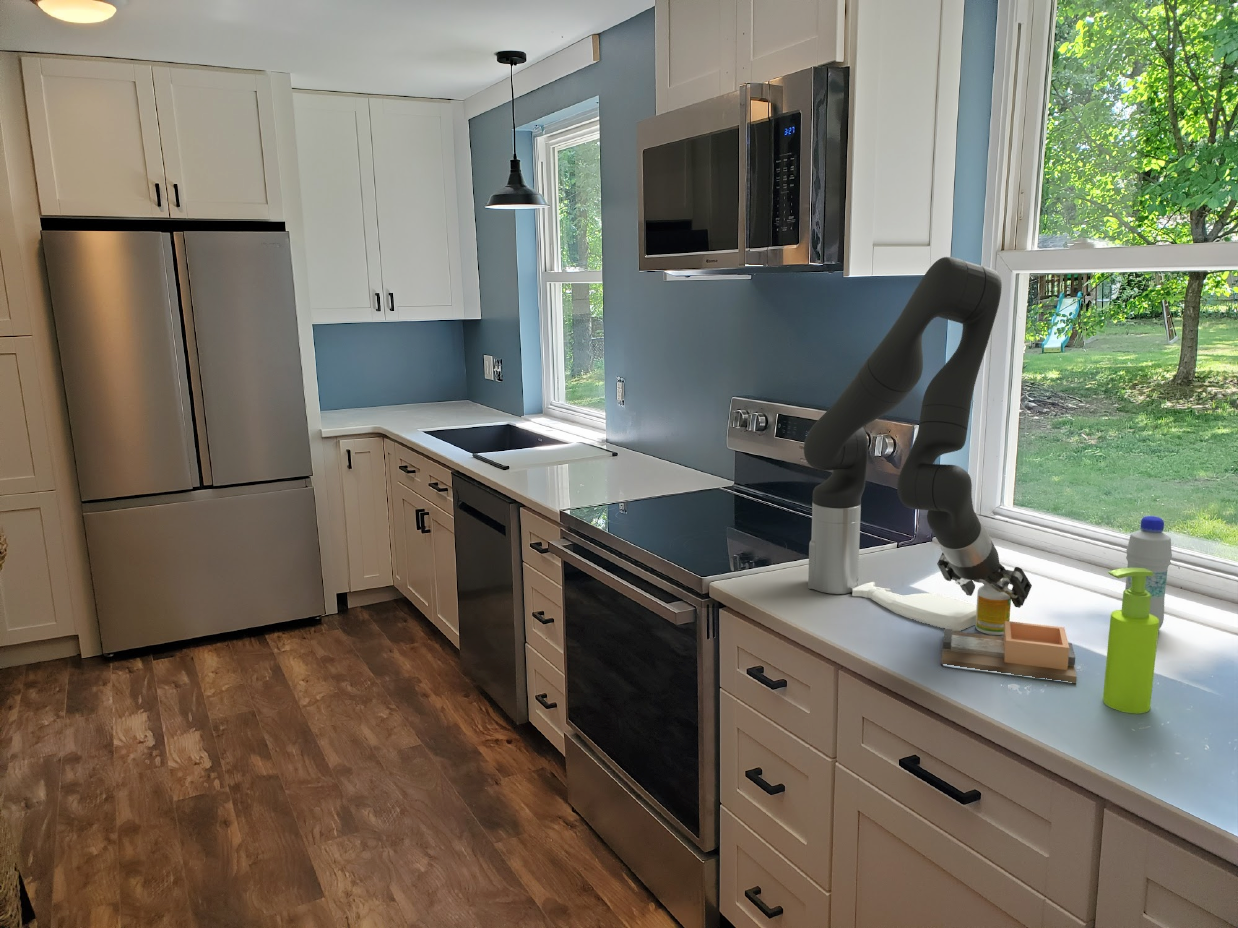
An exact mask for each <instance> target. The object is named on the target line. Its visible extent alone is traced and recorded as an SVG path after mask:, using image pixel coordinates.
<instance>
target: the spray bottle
mask: <svg viewBox="0 0 1238 928" xmlns="http://www.w3.org/2000/svg"><path fill="white" fill-rule="evenodd" d="M851 594H852V597H863V598H866V599H871V600H872V601H874V602H875V603H876V604H879V605H880V606H882V607H884V608H885V609H887V610H889V611H891V612H892V613H894V614H896V615H899V616H902V617H904V618H907V619H911V620H912V619H914V620H913V621H915V620H916V622H918V621H919V622H918V623H921V622H922V624H925V623H927V624H926V625H928V624H930V625H929V626H932V625H933V626H932V627H936V626H937V627H936V628H939V627H940V628H939V629H943V628H945V629H952V631H956V632H962V631H964V630H966V628H967V629H968V628H971V627H973V626H975V625H976V608H977V603H974V602H969V601H965V600H963V599H960V598H956V597H953V596H948V595H945V594H944V595H943V594H939V593H929V592H928V593H927V592H926V593H925V592H923V593H911V594H906V595H901V594H899V593H894V592H892V591H891V588H886V587H885V588H884V587H879V586H876V582H875V581H871V582H865V583H863V584H860V585H858V587H855V588H853V590H852V592H851ZM961 630H962V631H961Z"/></svg>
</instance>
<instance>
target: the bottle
mask: <svg viewBox="0 0 1238 928" xmlns="http://www.w3.org/2000/svg"><path fill="white" fill-rule="evenodd" d="M1164 528H1165V521H1164V519H1163V518H1160V517H1159V516H1154V515H1148V516H1147V515H1146V516H1143V518H1141V520H1140V529H1139V530H1135V531H1132V532H1131V533H1130V535H1129V540H1128V544H1127V547H1126V550H1125V551H1126V556H1125V559H1126V562H1127V567H1126V568H1145V569H1147V570H1149V571H1151V572H1153V576H1146V582H1145V590H1146V591H1147V592H1149V593H1150V594H1151V603H1150V613H1149V614H1151V615H1153V616H1155V617H1157V618H1158V619H1159V629H1158V631H1160V629H1161V627H1162V625H1163V624H1164V620H1165V618H1164V617H1165V597H1166V589H1167V588H1166V586H1167V579H1168V568H1169V567H1170V565H1171V560H1172V557H1173V554H1172V539H1171V536H1169V535H1168V534H1167V533H1164V532H1163V531H1164ZM1131 580H1132V576H1128V577H1125V587H1124V588H1125V589H1124V590H1126V589H1129V588H1131Z"/></svg>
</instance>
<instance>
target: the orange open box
mask: <svg viewBox="0 0 1238 928" xmlns="http://www.w3.org/2000/svg"><path fill="white" fill-rule="evenodd" d="M1002 637H1003V641H1004V662H1007V663H1015V664H1023V665H1031V666H1038V667H1046V668H1054V669H1062V670H1067V669H1068V657H1069V644H1068V643H1069V641H1068V636H1067V633H1066V629H1065V627H1064V626H1063V627H1062V626H1054V625H1045V624H1038V623H1037V624H1036V623H1027V622H1020V621H1005V623H1004V635H1003V636H1002Z"/></svg>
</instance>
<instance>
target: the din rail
mask: <svg viewBox="0 0 1238 928" xmlns="http://www.w3.org/2000/svg"><path fill="white" fill-rule="evenodd" d="M1068 644H1069V657H1068V666H1074V667H1075V665H1076V655H1075V651H1074V646H1073V643H1071V642H1068ZM943 650H946V651H954V652H962V653H970V654H978V655H986V656H994V657H1002V658H1004V641H1000V640H992V639H983V638H975V637H966V636H958V635H952V629H944V630H943V640H942V651H943Z"/></svg>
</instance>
